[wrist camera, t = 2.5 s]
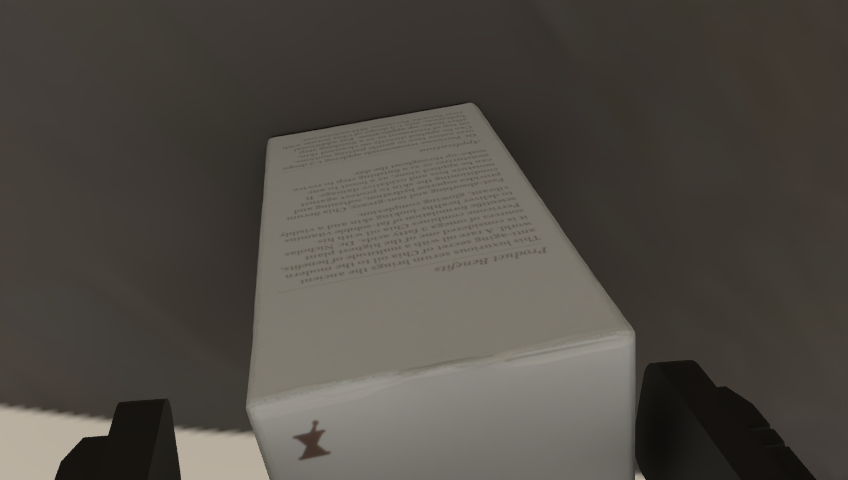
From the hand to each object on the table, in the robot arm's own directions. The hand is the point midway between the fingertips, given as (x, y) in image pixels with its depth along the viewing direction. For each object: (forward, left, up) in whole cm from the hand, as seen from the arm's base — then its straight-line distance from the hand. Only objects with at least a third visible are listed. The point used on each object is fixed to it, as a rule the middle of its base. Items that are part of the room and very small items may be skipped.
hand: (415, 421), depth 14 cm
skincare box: (-1, 0, -11) cm, 11 cm away
